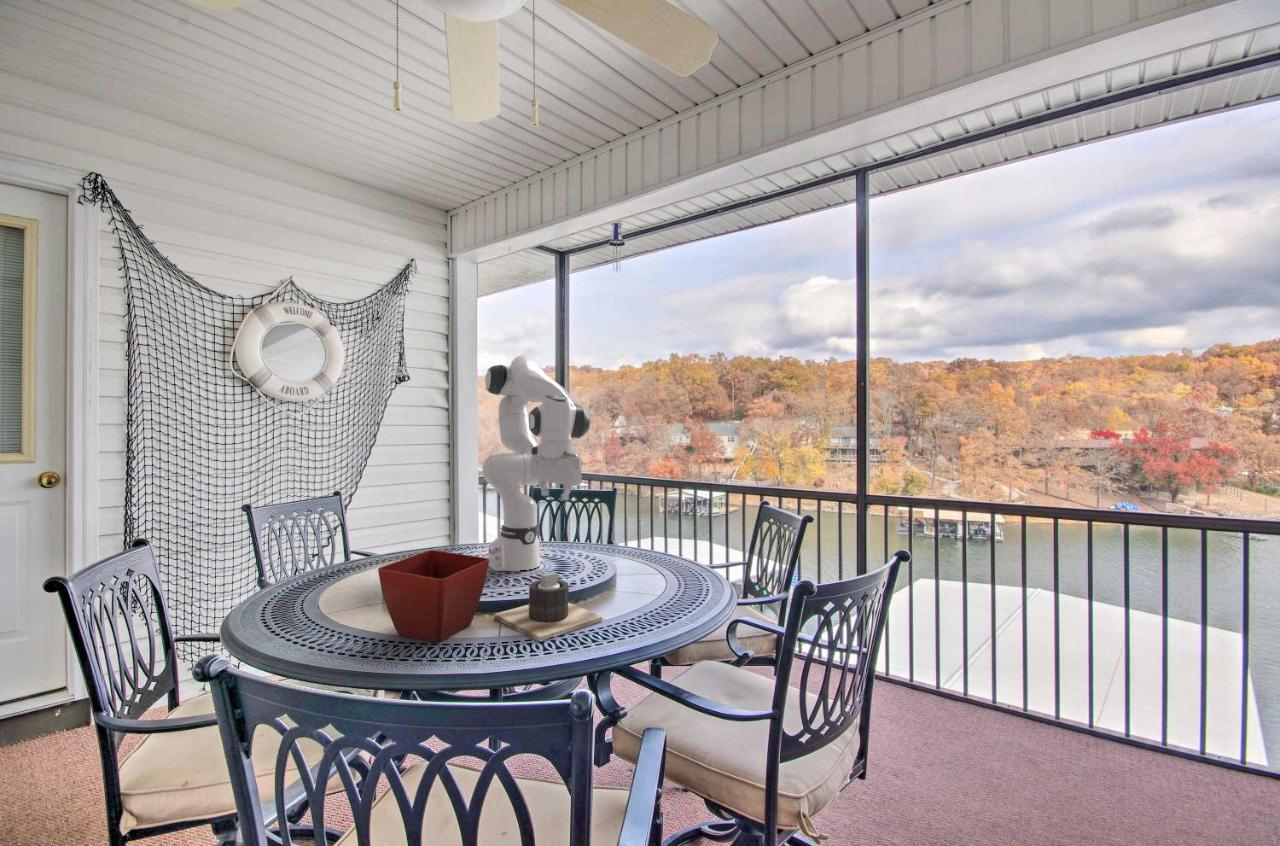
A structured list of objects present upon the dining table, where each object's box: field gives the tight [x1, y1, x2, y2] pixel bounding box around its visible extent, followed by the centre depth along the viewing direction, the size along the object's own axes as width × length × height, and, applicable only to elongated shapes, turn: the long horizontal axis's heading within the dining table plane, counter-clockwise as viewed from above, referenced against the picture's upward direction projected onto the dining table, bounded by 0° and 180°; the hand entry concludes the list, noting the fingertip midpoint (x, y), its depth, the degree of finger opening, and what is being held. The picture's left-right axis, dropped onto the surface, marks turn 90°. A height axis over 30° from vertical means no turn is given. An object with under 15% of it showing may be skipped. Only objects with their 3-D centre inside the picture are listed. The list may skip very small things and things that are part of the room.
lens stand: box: [493, 579, 603, 642], centre depth 153 cm, size 20×20×9 cm
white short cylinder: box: [538, 571, 560, 590], centre depth 153 cm, size 6×6×5 cm
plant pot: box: [377, 549, 489, 644], centre depth 144 cm, size 19×19×17 cm
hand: (554, 497), depth 171 cm, fingers open, 8 cm apart
